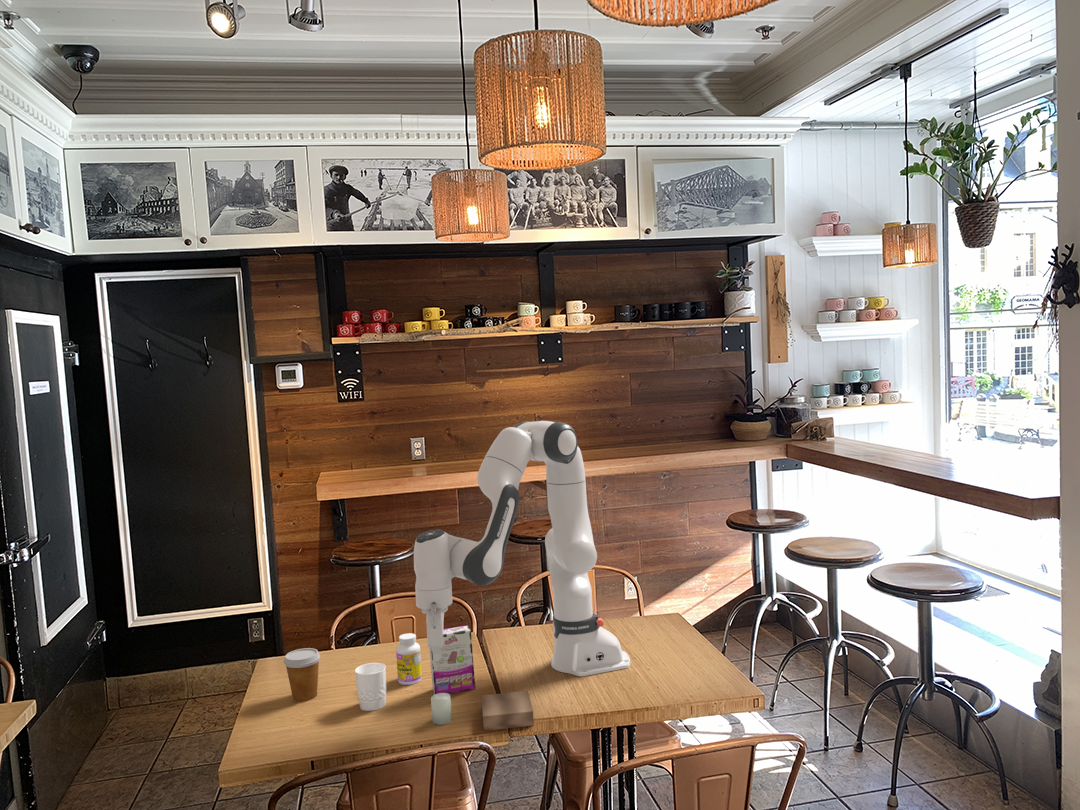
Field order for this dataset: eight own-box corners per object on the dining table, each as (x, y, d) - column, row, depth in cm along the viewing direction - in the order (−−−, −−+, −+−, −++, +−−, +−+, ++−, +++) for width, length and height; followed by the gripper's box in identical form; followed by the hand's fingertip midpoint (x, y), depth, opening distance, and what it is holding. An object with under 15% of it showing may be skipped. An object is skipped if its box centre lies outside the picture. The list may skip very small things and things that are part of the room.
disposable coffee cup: (330, 693, 222) (327, 650, 221) (304, 707, 213) (300, 662, 213) (305, 687, 226) (302, 645, 226) (279, 701, 218) (275, 657, 218)
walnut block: (528, 706, 208) (528, 690, 207) (533, 727, 196) (532, 711, 196) (481, 710, 206) (481, 695, 206) (484, 732, 194) (483, 716, 194)
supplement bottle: (393, 683, 226) (390, 638, 225) (407, 674, 232) (404, 630, 231) (412, 687, 223) (409, 641, 222) (426, 678, 228) (423, 633, 228)
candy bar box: (472, 682, 223) (468, 624, 222) (475, 689, 219) (472, 630, 218) (431, 689, 220) (427, 630, 219) (434, 697, 216) (430, 636, 214)
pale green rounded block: (451, 715, 204) (450, 692, 204) (451, 723, 199) (450, 700, 199) (432, 717, 203) (431, 694, 203) (432, 725, 199) (430, 702, 198)
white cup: (351, 706, 212) (349, 669, 212) (377, 696, 218) (374, 660, 217) (368, 715, 207) (365, 676, 206) (394, 704, 212) (391, 667, 211)
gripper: (447, 609, 189) (450, 667, 190) (446, 584, 210) (449, 637, 210) (419, 611, 189) (422, 669, 189) (422, 586, 209) (425, 639, 210)
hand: (437, 652), depth 200 cm, fingers open, 8 cm apart
